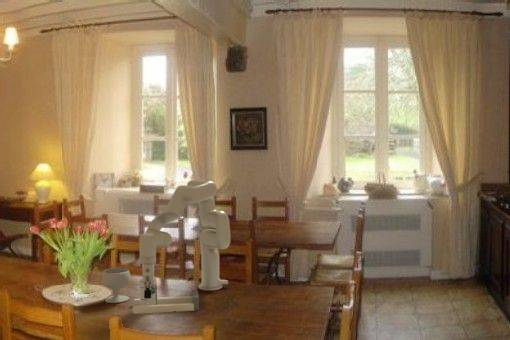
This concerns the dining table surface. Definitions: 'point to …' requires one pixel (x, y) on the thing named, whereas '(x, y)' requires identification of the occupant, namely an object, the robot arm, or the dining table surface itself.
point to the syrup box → (153, 294)
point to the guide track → (169, 304)
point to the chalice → (116, 283)
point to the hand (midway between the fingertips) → (147, 295)
